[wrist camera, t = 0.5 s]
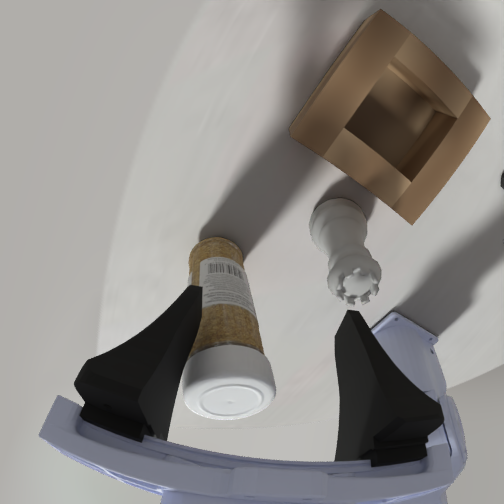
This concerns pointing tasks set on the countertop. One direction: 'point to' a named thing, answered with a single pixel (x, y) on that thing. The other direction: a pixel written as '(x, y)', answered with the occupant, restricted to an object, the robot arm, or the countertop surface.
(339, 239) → the rook chess piece
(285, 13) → the countertop surface
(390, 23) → the bore block
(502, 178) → the chef's knife
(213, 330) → the sprinkles bottle
